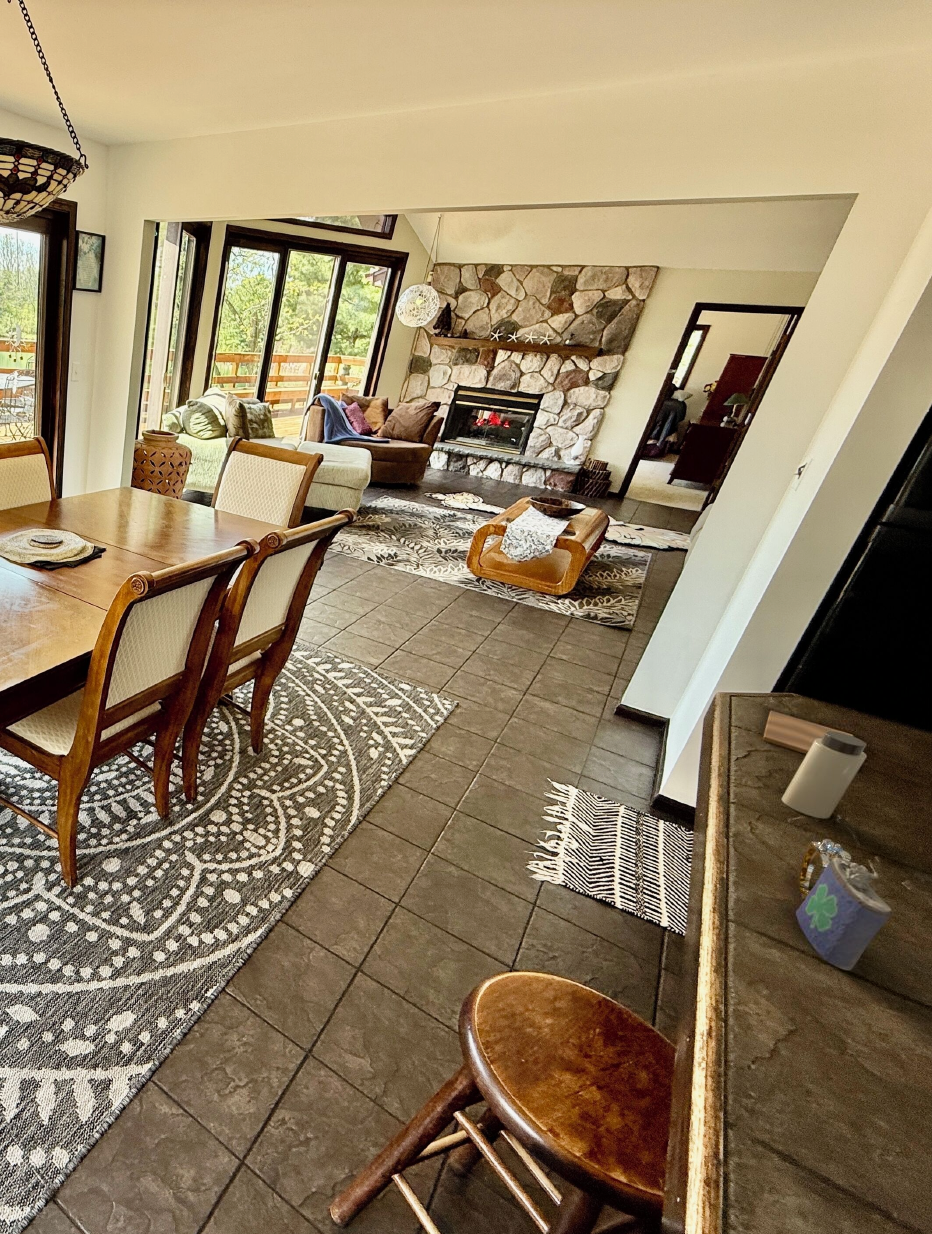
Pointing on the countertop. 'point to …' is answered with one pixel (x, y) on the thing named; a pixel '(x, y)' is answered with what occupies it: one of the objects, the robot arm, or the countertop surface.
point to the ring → (809, 861)
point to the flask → (842, 913)
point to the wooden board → (793, 732)
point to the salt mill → (825, 774)
